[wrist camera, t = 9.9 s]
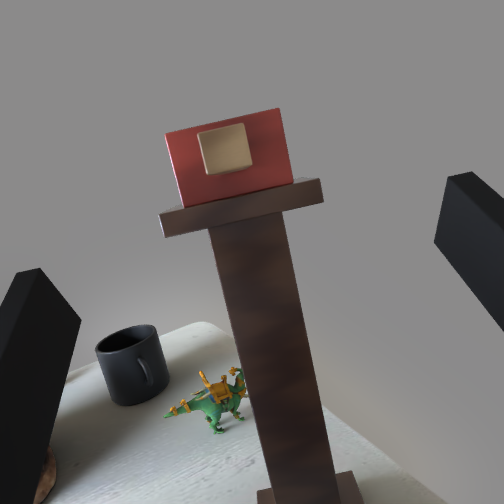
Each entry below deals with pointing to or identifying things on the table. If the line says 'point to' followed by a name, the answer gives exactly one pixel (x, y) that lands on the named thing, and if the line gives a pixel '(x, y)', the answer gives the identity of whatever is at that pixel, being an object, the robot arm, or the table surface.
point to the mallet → (230, 157)
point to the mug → (133, 364)
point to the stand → (271, 337)
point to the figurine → (215, 399)
